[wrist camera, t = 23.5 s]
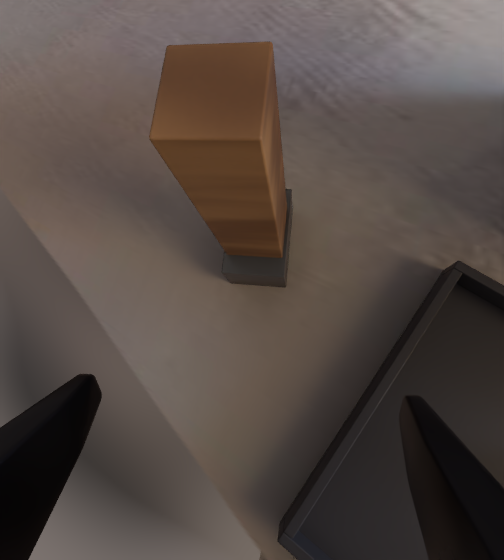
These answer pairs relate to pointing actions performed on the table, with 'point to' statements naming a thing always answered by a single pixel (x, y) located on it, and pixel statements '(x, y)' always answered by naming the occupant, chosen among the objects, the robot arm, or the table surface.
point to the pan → (386, 431)
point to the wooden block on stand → (228, 151)
